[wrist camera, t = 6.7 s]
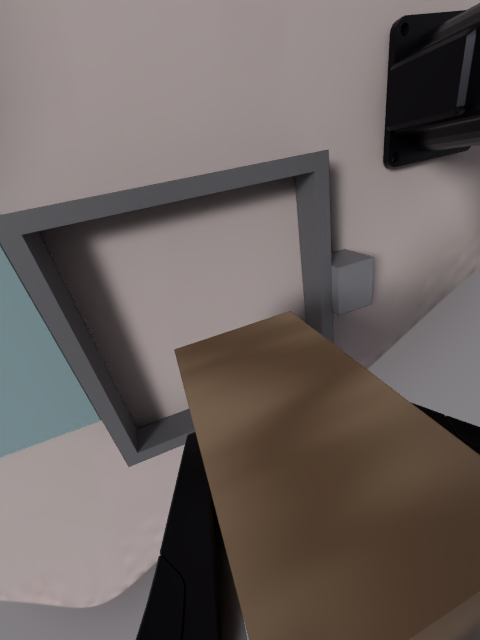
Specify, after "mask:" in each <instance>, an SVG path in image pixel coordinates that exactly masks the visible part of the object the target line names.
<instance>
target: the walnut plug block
mask: <svg viewBox="0 0 480 640" xmlns="http://www.w3.org/2000/svg"><path fill="white" fill-rule="evenodd" d="M174 351H175V354H176V358H177V362H178V366H179V370H180V374H181V378H182V382H183V385H184V389H185V393H186V397H187V401H188V405H189V409H190V413H191V416H192V420H193V424H194V428H195V432H196V436H197V440H198V444H199V447H200V451H201V455H202V459H203V463H204V467H205V471H206V474H207V478H208V482H209V486H210V490H211V494H212V498H213V502H214V505H215V509H216V513H217V517H218V521H219V525H220V529H221V533H222V536H223V540H224V544H225V548H226V552H227V556H228V560H229V563H230V567H231V571H232V575H233V579H234V583H235V587H236V591H237V594H238V598H239V602H240V606H241V610H242V614H243V618H244V622H245V625H246V629H247V633H248V637H249V640H480V455H479V454H478V453H476V452H475V451H474V450H472V449H471V448H470V447H468V446H467V445H466V444H464V443H463V442H462V441H460V440H459V439H458V438H456V437H455V436H454V435H453V434H451V433H450V432H449V431H447V430H446V429H445V428H443V427H442V426H441V425H439V424H438V423H437V422H435V421H434V420H433V419H431V418H430V417H429V416H428V415H426V414H425V413H424V412H422V411H421V410H420V409H418V408H417V407H416V406H414V405H413V404H412V403H410V402H409V401H408V400H406V399H405V398H404V397H402V396H401V395H400V394H398V393H397V392H396V391H394V390H393V389H392V388H391V387H389V386H388V385H387V384H385V383H384V382H383V381H381V380H380V379H379V378H377V377H376V376H375V375H374V374H372V373H371V372H370V371H368V370H367V369H366V368H364V367H363V366H362V365H360V364H359V363H358V362H356V361H355V360H354V359H352V358H351V357H350V356H349V355H347V354H346V353H345V352H343V351H342V350H341V349H339V348H338V347H337V346H335V345H334V344H333V343H331V342H330V341H329V340H327V339H326V338H325V337H324V336H322V335H321V334H320V333H318V332H317V331H316V330H314V329H313V328H312V327H310V326H309V325H308V324H306V323H305V322H304V321H302V320H301V319H300V318H298V317H297V316H296V315H295V314H293V313H292V312H291V311H289V312H286V313H283V314H280V315H277V316H274V317H271V318H268V319H265V320H262V321H259V322H256V323H253V324H250V325H247V326H244V327H241V328H238V329H235V330H232V331H229V332H226V333H223V334H220V335H217V336H214V337H211V338H208V339H205V340H202V341H199V342H196V343H193V344H190V345H187V346H184V347H181V348H178V349H175V350H174Z"/></svg>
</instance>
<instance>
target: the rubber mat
mask: <svg viewBox="0 0 480 640" xmlns="http://www.w3.org/2000/svg"><path fill="white" fill-rule="evenodd" d="M98 421H101V418H100V416H99V414H98V413H97V411H96V409H95V407H94V406H93V404H92V402H91V400H90V399H89V397H88V395H87V393H86V392H85V390H84V388H83V386H82V385H81V383H80V381H79V379H78V378H77V376H76V374H75V372H74V371H73V369H72V367H71V365H70V364H69V362H68V360H67V358H66V357H65V355H64V353H63V352H62V350H61V348H60V346H59V345H58V343H57V341H56V339H55V338H54V336H53V334H52V332H51V331H50V329H49V327H48V325H47V324H46V322H45V320H44V318H43V317H42V315H41V313H40V311H39V310H38V308H37V306H36V304H35V303H34V301H33V299H32V297H31V296H30V294H29V292H28V291H27V289H26V287H25V285H24V284H23V282H22V280H21V278H20V277H19V275H18V273H17V271H16V270H15V268H14V266H13V264H12V263H11V261H10V259H9V257H8V256H7V254H6V252H5V250H4V249H3V247H2V245H1V243H0V457H3V456H5V455H8V454H11V453H13V452H16V451H19V450H22V449H24V448H27V447H30V446H33V445H35V444H38V443H41V442H44V441H46V440H49V439H52V438H55V437H57V436H60V435H63V434H65V433H68V432H71V431H74V430H76V429H79V428H82V427H85V426H87V425H90V424H93V423H96V422H98Z"/></svg>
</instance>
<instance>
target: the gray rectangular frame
mask: <svg viewBox="0 0 480 640" xmlns="http://www.w3.org/2000/svg"><path fill="white" fill-rule="evenodd" d="M291 176H295V186H296V199H297V212H298V225H299V238H300V251H301V264H302V277H303V290H304V303H305V316H306V324H308V325H309V326H310V327H312V328H313V329H314V330H316V331H317V332H318V333H320V334H321V335H322V336H324V337H325V338H326V339H327V340H329V341H330V342H331V343H333V344H334V342H333V312H334V313H335V314H337V315H342V314H345V313H347V312H350V311H353V310H356V309H359V308H362V307H365V306H367V305H370V304H372V285H373V264H374V257H371V256H367V255H364V254H360V253H356V252H353V251H349V250H345V249H344V250H340V251H337V252H333V253H331V226H330V187H329V150H324V151H319V152H314V153H309V154H304V155H299V156H294V157H289V158H284V159H279V160H274V161H269V162H264V163H259V164H254V165H249V166H244V167H239V168H234V169H229V170H224V171H219V172H214V173H209V174H204V175H199V176H194V177H189V178H184V179H179V180H174V181H169V182H164V183H159V184H154V185H149V186H144V187H139V188H134V189H129V190H124V191H119V192H114V193H109V194H104V195H99V196H94V197H89V198H84V199H79V200H74V201H69V202H64V203H59V204H54V205H49V206H44V207H39V208H34V209H29V210H24V211H19V212H14V213H9V214H4V215H0V243H1V245H2V247H3V249H4V250H5V252H6V254H7V256H8V257H9V259H10V261H11V263H12V264H13V266H14V268H15V270H16V271H17V273H18V275H19V277H20V278H21V280H22V282H23V284H24V285H25V287H26V289H27V291H28V292H29V294H30V296H31V297H32V299H33V301H34V303H35V304H36V306H37V308H38V310H39V311H40V313H41V315H42V317H43V318H44V320H45V322H46V324H47V325H48V327H49V329H50V331H51V332H52V334H53V336H54V338H55V339H56V341H57V343H58V345H59V346H60V348H61V350H62V352H63V353H64V355H65V357H66V358H67V360H68V362H69V364H70V365H71V367H72V369H73V371H74V372H75V374H76V376H77V378H78V379H79V381H80V383H81V385H82V386H83V388H84V390H85V392H86V393H87V395H88V397H89V399H90V400H91V402H92V404H93V406H94V407H95V409H96V411H97V413H98V414H99V416H100V418H101V420H102V421H103V423H104V425H105V426H106V428H107V430H108V432H109V433H110V435H111V437H112V439H113V440H114V442H115V444H116V446H117V447H118V449H119V451H120V453H121V454H122V456H123V458H124V460H125V461H126V463H127V465H128V467H130V466H132V465H135V464H137V463H140V462H142V461H145V460H147V459H150V458H152V457H155V456H157V455H159V454H162V453H164V452H167V451H169V450H172V449H174V448H177V447H179V446H181V445H184V444H185V442H186V438H187V435H188V434H189V433H192V432H194V431H195V428H194V424H193V420H192V416H191V413H190V409H188V410H186V411H183V412H180V413H178V414H175V415H172V416H170V417H167V418H165V419H162V420H159V421H157V422H154V423H151V424H149V425H146V426H144V427H141V428H138V429H137V428H136V426H135V424H134V422H133V420H132V418H131V416H130V414H129V412H128V410H127V408H126V406H125V404H124V402H123V400H122V398H121V396H120V394H119V392H118V390H117V388H116V386H115V384H114V382H113V380H112V378H111V376H110V374H109V372H108V370H107V368H106V366H105V364H104V362H103V360H102V358H101V356H100V354H99V352H98V350H97V348H96V346H95V344H94V342H93V340H92V338H91V336H90V334H89V332H88V330H87V328H86V326H85V324H84V322H83V320H82V318H81V316H80V314H79V312H78V310H77V308H76V306H75V304H74V302H73V300H72V298H71V296H70V294H69V292H68V290H67V288H66V286H65V284H64V282H63V280H62V278H61V276H60V274H59V272H58V270H57V268H56V266H55V264H54V262H53V260H52V258H51V256H50V254H49V252H48V250H47V248H46V246H45V244H44V242H43V240H42V238H41V236H40V234H39V232H38V231H42V230H46V229H51V228H55V227H60V226H65V225H69V224H74V223H79V222H83V221H88V220H92V219H97V218H102V217H106V216H111V215H115V214H120V213H125V212H129V211H134V210H139V209H143V208H148V207H152V206H157V205H162V204H166V203H171V202H176V201H180V200H185V199H189V198H194V197H199V196H203V195H208V194H213V193H217V192H222V191H226V190H231V189H236V188H240V187H245V186H249V185H254V184H259V183H263V182H268V181H273V180H277V179H282V178H286V177H291Z"/></svg>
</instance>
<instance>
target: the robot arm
mask: <svg viewBox="0 0 480 640" xmlns="http://www.w3.org/2000/svg"><path fill="white" fill-rule="evenodd" d="M401 29H402V35H401V31H400V30H401ZM474 145H480V3H479V4H477V5H475V6H474V7H472V8H470V9H468V10H463V11H452V12H441V13H429V14H418V15H406V16H403V17H402V18H400V19H398V20H397V21H396V22H395V23H394V24H393V25H392V28H391V31H390V43H389V62H388V81H387V99H386V118H385V137H384V155H383V162H384V165H385V166H386V167H389V168H390V167H397V166H402V165H406V164H410V163H415V162H419V161H423V160H428V159H432V158H437V157H441V156H445V155H450V154H454V153H458V152H463V151H466V150H468V149H469V148H470V147H471V146H474ZM393 155H394V158H393V161H392V156H393ZM410 403H411V402H410ZM412 404H413V405H414V406H416V407H417V408H418V409H420V410H421V411H422V412H424V413H425V414H426V415H428V416H429V417H430V418H431V419H433V420H434V421H435V422H437V423H438V424H439V425H441V426H442V427H443V428H445V429H446V430H447V431H449V432H450V433H451V434H453V435H454V436H455V437H456V438H458V439H459V440H460V441H462V442H463V443H464V444H466V445H467V446H468V447H470V448H471V449H472V450H474V451H475V452H476V453H478V454H479V455H480V427H478V426H475V425H472V424H470V423H467V422H463V421H461V420H458V419H455V418H452V417H450V416H445V415H444V414H441V413H438V412H436V411H433V410H430V409H427V408H425V407H422V406H419V405H416V404H414V403H412ZM136 640H247V635H246V630H245V624H244V619H243V614H242V610H241V606H240V602H239V598H238V594H237V591H236V587H235V583H234V579H233V575H232V571H231V567H230V563H229V560H228V556H227V552H226V548H225V544H224V540H223V536H222V533H221V529H220V525H219V521H218V517H217V513H216V509H215V505H214V502H213V498H212V494H211V490H210V486H209V482H208V478H207V474H206V471H205V467H204V463H203V459H202V455H201V451H200V447H199V444H198V440H197V436H196V432H195V431H194V432H192V433H189V434H188V435H187V438H186V442H185V447H184V451H183V455H182V459H181V464H180V468H179V472H178V477H177V481H176V485H175V489H174V494H173V498H172V502H171V507H170V511H169V515H168V519H167V524H166V528H165V532H164V536H163V541H162V545H161V549H160V556H159V557H158V562H157V566H156V570H155V575H154V578H153V582H152V586H151V590H150V594H149V597H148V601H147V605H146V608H145V611H144V615H143V618H142V621H141V624H140V628H139V631H138V634H137V638H136Z"/></svg>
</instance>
